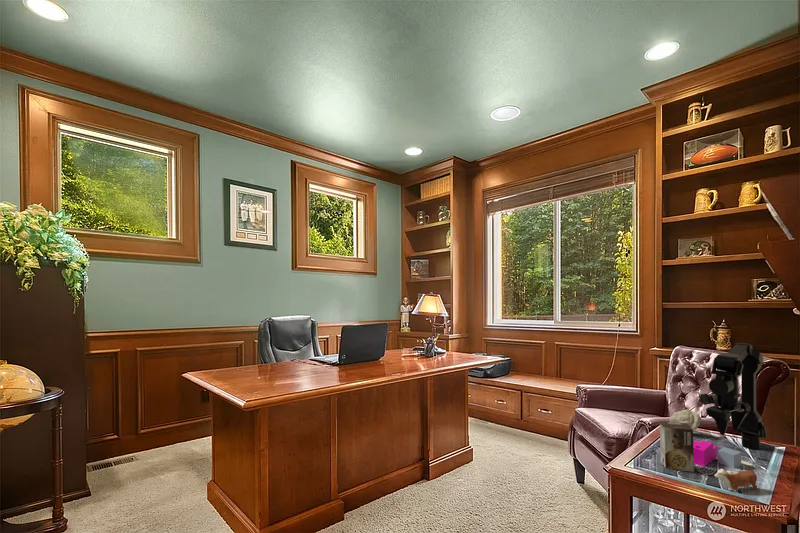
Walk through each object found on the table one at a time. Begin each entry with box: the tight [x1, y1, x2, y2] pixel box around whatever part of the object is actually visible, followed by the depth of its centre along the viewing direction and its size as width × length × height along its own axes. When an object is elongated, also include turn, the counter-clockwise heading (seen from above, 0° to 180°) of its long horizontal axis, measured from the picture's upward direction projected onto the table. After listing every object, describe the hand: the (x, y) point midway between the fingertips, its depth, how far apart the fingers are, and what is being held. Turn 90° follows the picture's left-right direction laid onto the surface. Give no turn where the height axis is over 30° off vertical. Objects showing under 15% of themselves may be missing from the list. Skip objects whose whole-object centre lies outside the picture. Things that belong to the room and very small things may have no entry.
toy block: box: [693, 439, 718, 467], centre depth 156 cm, size 15×6×8 cm
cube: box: [717, 447, 742, 469], centre depth 151 cm, size 5×5×5 cm
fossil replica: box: [668, 408, 702, 432], centre depth 181 cm, size 12×8×10 cm
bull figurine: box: [714, 468, 758, 493], centre depth 132 cm, size 4×13×8 cm, turn 95°
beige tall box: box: [659, 420, 695, 473], centre depth 148 cm, size 9×6×16 cm
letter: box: [714, 454, 754, 466], centre depth 153 cm, size 12×10×1 cm
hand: (728, 432), depth 151 cm, fingers open, 9 cm apart
